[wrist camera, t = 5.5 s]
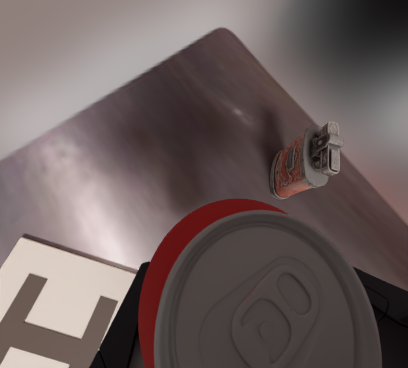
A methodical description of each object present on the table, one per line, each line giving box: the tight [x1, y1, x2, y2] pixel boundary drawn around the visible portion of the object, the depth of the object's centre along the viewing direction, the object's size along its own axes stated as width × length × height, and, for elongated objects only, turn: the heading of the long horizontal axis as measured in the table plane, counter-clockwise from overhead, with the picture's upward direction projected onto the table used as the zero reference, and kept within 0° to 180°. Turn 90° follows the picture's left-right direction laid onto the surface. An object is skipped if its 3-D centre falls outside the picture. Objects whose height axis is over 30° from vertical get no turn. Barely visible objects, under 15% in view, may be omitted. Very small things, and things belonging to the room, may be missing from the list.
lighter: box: [270, 122, 344, 200], centre depth 22 cm, size 8×3×10 cm, turn 166°
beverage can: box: [138, 199, 382, 368], centre depth 9 cm, size 7×7×12 cm
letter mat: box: [0, 237, 136, 368], centre depth 17 cm, size 16×16×1 cm
